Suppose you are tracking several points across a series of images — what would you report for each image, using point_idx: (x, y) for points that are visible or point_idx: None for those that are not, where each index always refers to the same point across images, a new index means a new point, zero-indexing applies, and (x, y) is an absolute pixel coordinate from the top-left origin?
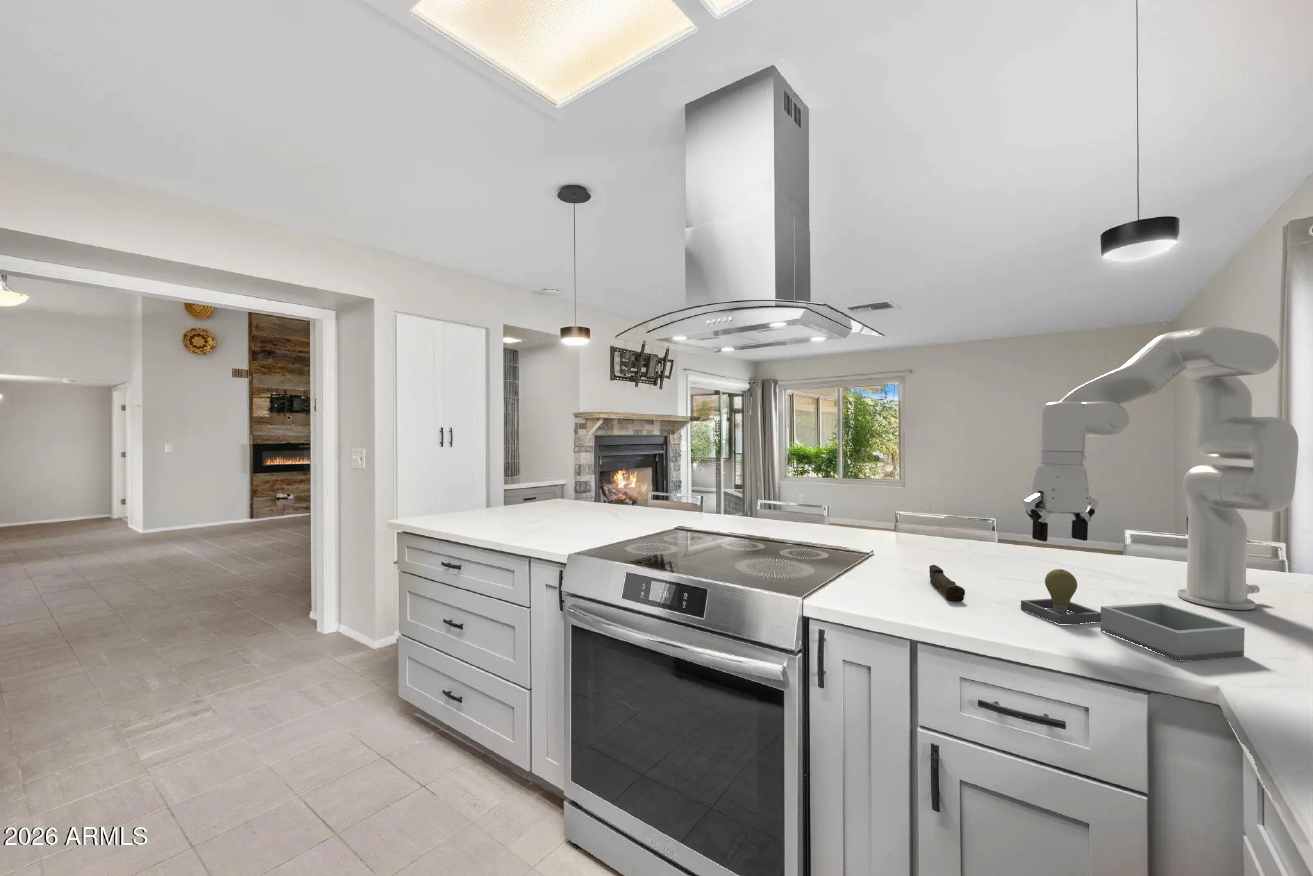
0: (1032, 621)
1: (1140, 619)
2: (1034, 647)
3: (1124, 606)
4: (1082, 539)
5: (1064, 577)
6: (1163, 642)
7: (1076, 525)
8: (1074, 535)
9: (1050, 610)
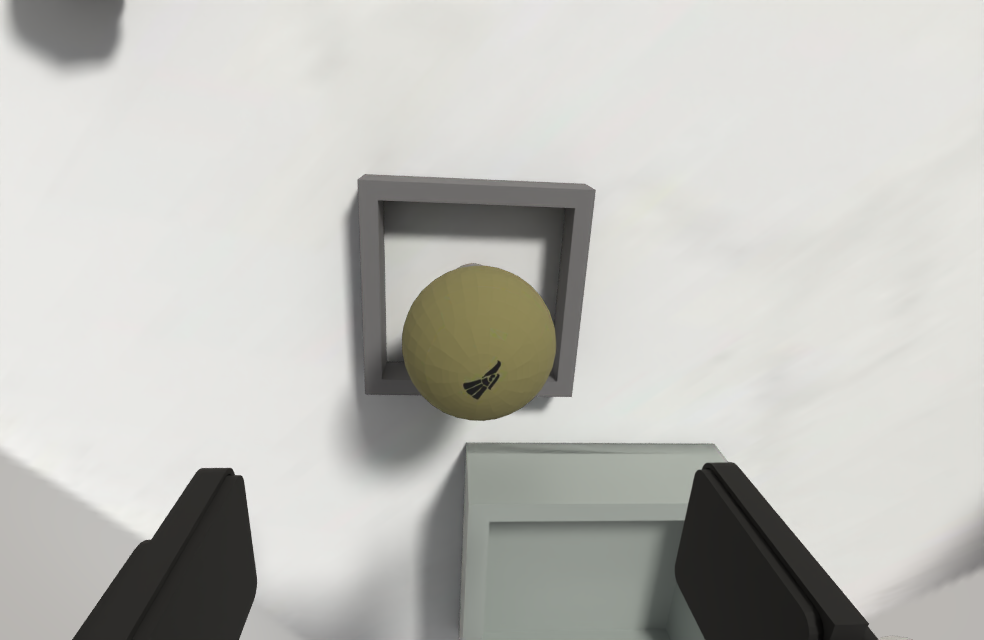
0: (295, 315)
1: (469, 622)
2: (112, 510)
3: (565, 517)
4: (677, 566)
5: (448, 411)
6: (460, 638)
7: (759, 625)
8: (705, 509)
9: (380, 331)
